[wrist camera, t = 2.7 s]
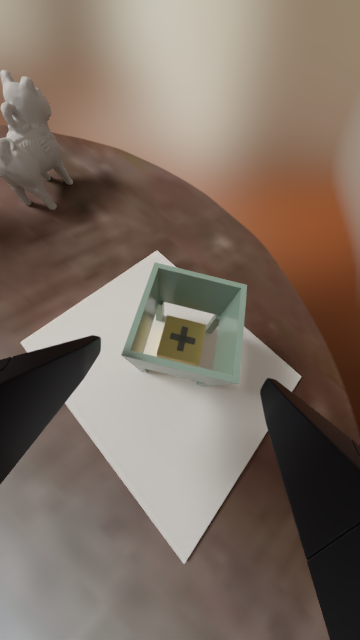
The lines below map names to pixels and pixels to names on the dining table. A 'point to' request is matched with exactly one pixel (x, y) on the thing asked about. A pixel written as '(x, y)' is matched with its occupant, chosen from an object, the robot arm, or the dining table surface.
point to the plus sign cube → (182, 341)
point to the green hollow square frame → (198, 295)
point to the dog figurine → (28, 141)
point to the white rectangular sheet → (165, 408)
